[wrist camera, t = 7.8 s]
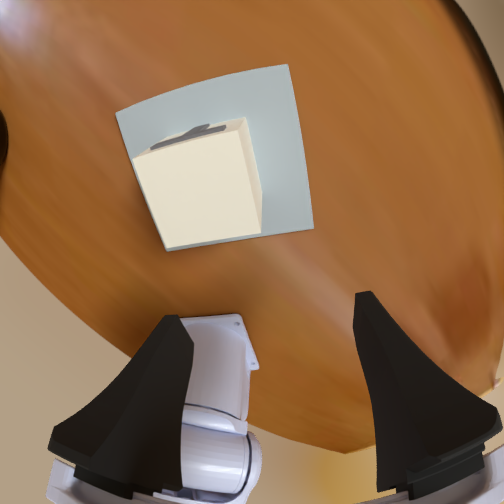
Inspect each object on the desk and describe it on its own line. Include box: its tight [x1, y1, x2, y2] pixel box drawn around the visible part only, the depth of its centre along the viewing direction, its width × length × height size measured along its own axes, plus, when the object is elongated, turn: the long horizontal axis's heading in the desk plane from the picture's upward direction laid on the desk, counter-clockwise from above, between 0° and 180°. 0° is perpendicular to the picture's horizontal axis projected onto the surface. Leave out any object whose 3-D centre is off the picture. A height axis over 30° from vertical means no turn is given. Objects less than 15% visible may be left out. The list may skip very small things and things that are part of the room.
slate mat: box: [115, 64, 314, 252], centre depth 16 cm, size 11×11×1 cm
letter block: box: [132, 117, 262, 248], centre depth 14 cm, size 5×5×5 cm
